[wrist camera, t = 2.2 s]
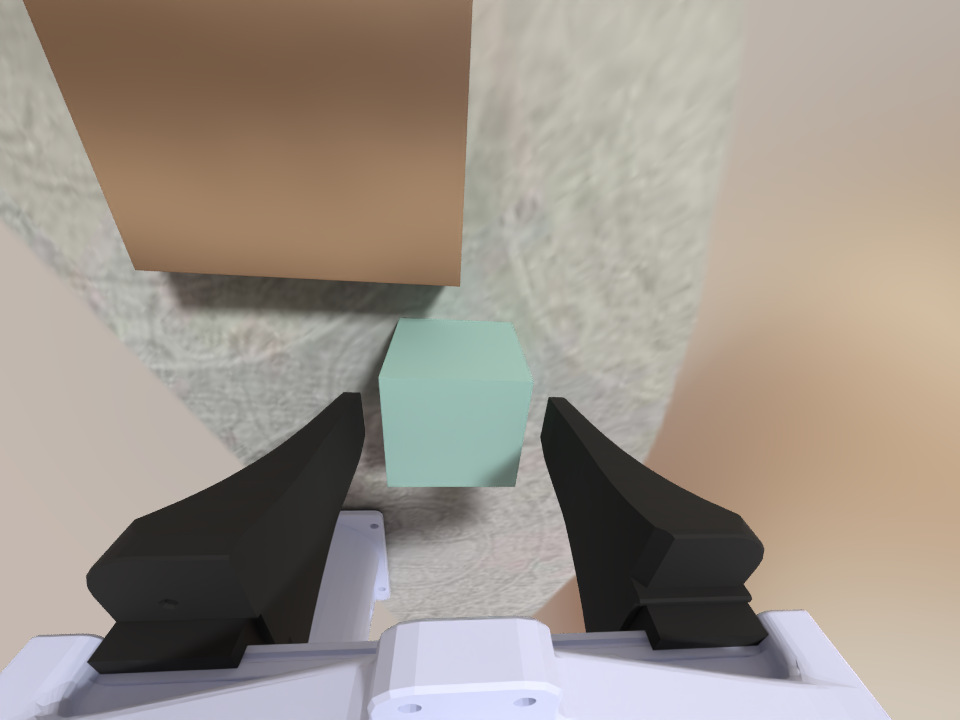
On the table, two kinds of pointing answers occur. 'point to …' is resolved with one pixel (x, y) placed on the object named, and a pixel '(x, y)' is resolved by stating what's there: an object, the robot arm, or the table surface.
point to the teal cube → (454, 404)
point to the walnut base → (273, 131)
